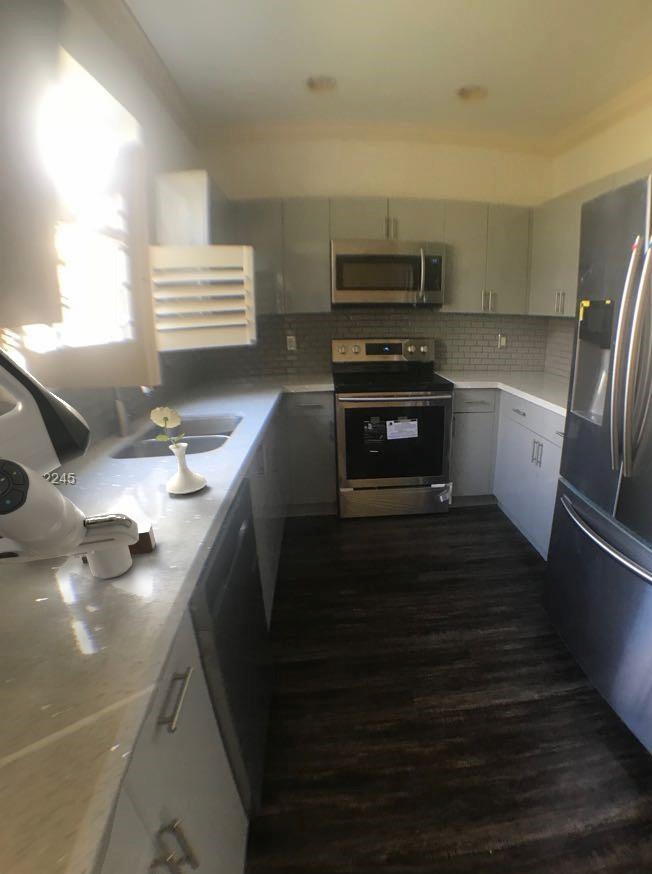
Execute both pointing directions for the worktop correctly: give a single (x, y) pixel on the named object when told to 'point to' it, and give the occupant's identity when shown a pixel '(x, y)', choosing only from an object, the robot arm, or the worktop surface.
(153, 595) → the worktop surface
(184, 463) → the flower in vase
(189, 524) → the worktop surface
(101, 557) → the can
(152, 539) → the brown rectangular block
